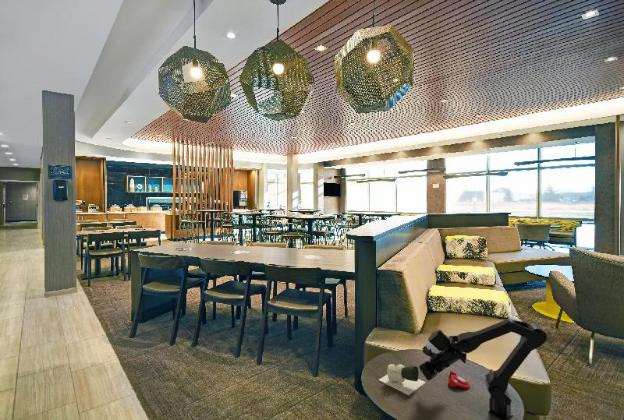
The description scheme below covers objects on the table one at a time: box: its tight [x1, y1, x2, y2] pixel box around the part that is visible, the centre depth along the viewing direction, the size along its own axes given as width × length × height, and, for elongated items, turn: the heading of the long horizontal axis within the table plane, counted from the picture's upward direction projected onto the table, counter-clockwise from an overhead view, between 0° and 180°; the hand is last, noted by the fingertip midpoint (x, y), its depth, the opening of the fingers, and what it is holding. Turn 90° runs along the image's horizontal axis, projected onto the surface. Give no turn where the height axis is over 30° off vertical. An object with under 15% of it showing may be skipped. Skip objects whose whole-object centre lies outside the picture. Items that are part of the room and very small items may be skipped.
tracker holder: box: [447, 369, 471, 390], centre depth 149 cm, size 12×4×10 cm
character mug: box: [386, 363, 420, 382], centre depth 148 cm, size 11×7×13 cm
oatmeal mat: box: [378, 374, 426, 396], centre depth 151 cm, size 16×14×1 cm
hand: (423, 373), depth 142 cm, fingers closed
